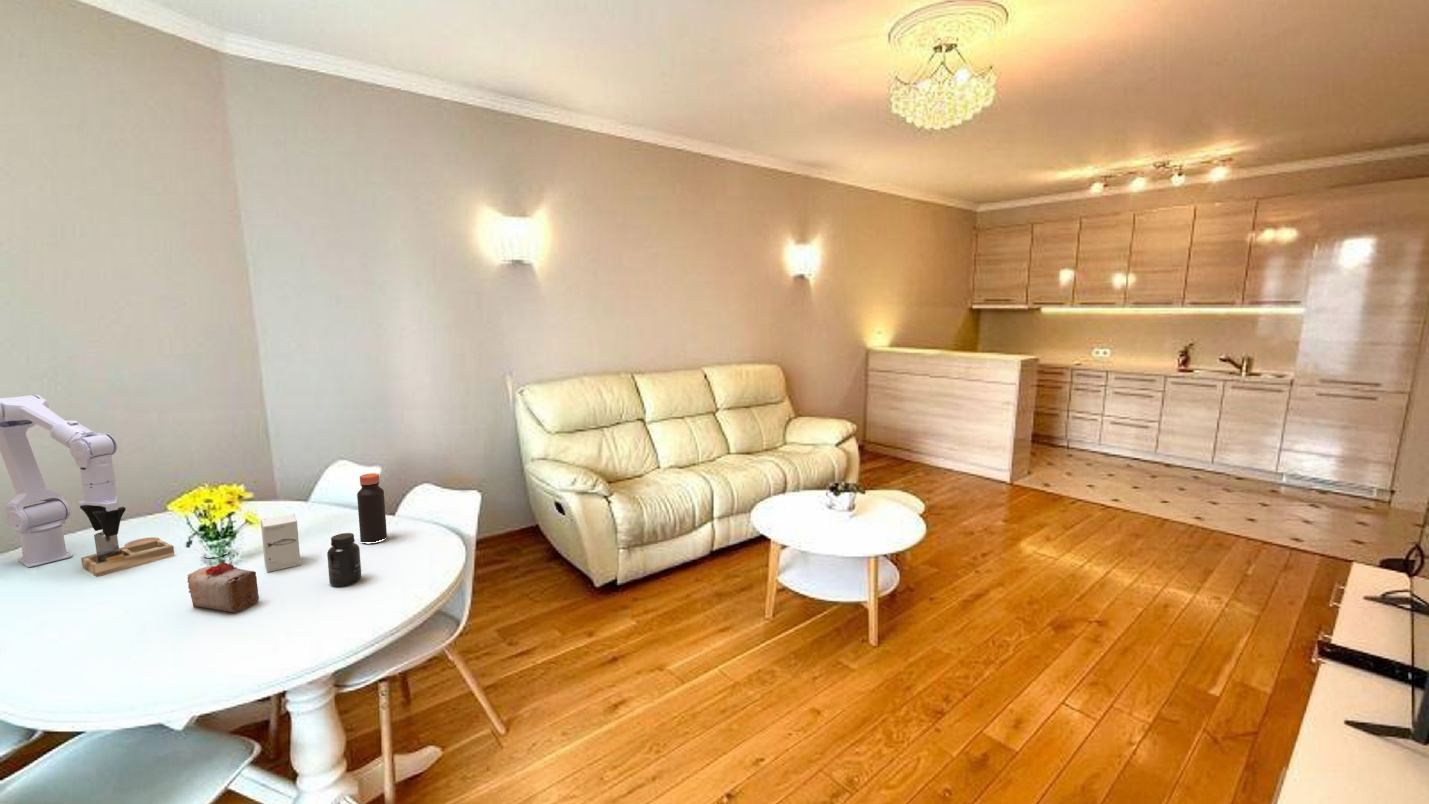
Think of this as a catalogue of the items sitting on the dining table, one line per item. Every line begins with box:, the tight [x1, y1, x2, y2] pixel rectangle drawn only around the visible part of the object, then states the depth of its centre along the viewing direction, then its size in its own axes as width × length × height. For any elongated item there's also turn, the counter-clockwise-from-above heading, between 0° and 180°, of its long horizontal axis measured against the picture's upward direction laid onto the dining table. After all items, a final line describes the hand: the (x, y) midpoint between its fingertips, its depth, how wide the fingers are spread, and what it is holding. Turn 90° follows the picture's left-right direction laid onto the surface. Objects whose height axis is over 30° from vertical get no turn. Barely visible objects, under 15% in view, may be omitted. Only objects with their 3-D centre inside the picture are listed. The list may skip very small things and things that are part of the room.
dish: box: [123, 536, 160, 547], centre depth 159 cm, size 7×7×2 cm
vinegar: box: [356, 472, 388, 543], centre depth 167 cm, size 7×7×20 cm
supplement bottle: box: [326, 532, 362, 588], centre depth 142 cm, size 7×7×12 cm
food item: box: [187, 560, 260, 614], centre depth 130 cm, size 14×8×10 cm, turn 77°
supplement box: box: [260, 513, 302, 573], centre depth 150 cm, size 7×7×13 cm
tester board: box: [81, 538, 175, 578], centre depth 151 cm, size 10×15×4 cm, turn 152°
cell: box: [93, 530, 120, 563], centre depth 147 cm, size 4×4×9 cm
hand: (106, 532), depth 147 cm, fingers open, 7 cm apart
